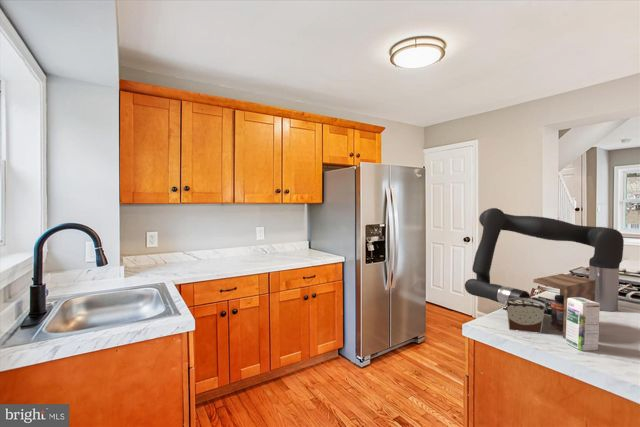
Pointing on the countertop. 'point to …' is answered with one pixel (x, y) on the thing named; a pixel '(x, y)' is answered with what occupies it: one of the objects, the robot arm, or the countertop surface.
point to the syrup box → (582, 323)
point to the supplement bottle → (557, 312)
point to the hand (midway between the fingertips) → (558, 310)
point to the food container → (525, 314)
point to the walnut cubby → (570, 289)
